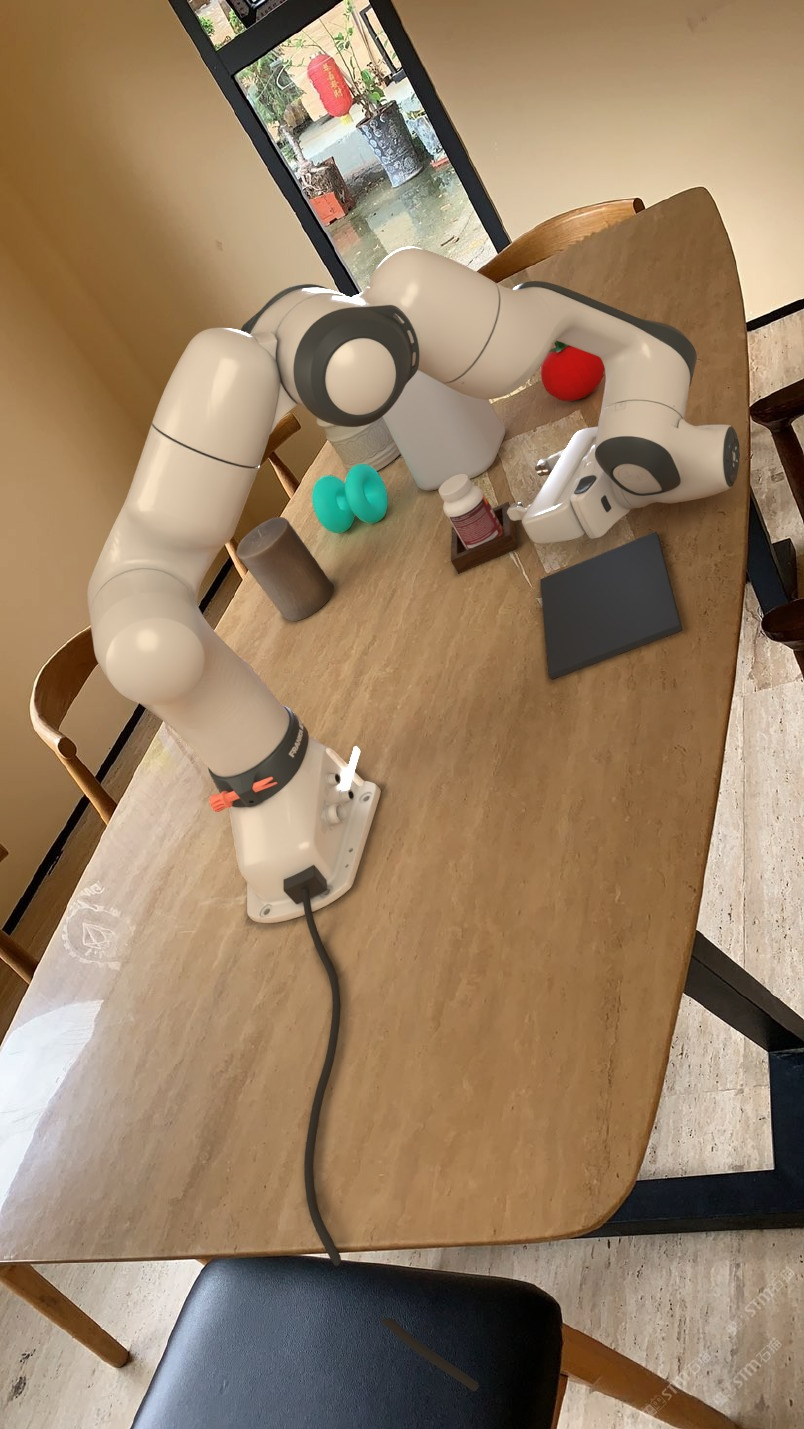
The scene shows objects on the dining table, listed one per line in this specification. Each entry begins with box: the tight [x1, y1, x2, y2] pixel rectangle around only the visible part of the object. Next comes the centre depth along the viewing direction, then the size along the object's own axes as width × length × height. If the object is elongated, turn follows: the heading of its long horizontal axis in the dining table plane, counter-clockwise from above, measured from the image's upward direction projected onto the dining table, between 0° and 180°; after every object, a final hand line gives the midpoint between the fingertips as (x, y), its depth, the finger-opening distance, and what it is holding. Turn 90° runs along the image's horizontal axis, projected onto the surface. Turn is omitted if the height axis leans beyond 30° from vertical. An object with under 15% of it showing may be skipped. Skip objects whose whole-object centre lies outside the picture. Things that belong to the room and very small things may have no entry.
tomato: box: [539, 341, 605, 402], centre depth 169 cm, size 10×10×10 cm
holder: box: [450, 501, 518, 575], centre depth 152 cm, size 9×9×2 cm
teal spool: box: [311, 464, 389, 534], centre depth 176 cm, size 10×10×10 cm
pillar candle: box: [235, 516, 335, 622], centre depth 164 cm, size 10×10×15 cm
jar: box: [315, 417, 401, 472], centre depth 191 cm, size 13×13×18 cm
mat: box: [539, 531, 684, 680], centre depth 127 cm, size 20×16×1 cm
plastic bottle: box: [382, 370, 506, 492], centre depth 168 cm, size 15×15×28 cm
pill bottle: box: [438, 474, 504, 551], centre depth 150 cm, size 6×6×11 cm
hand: (524, 490), depth 141 cm, fingers open, 8 cm apart
